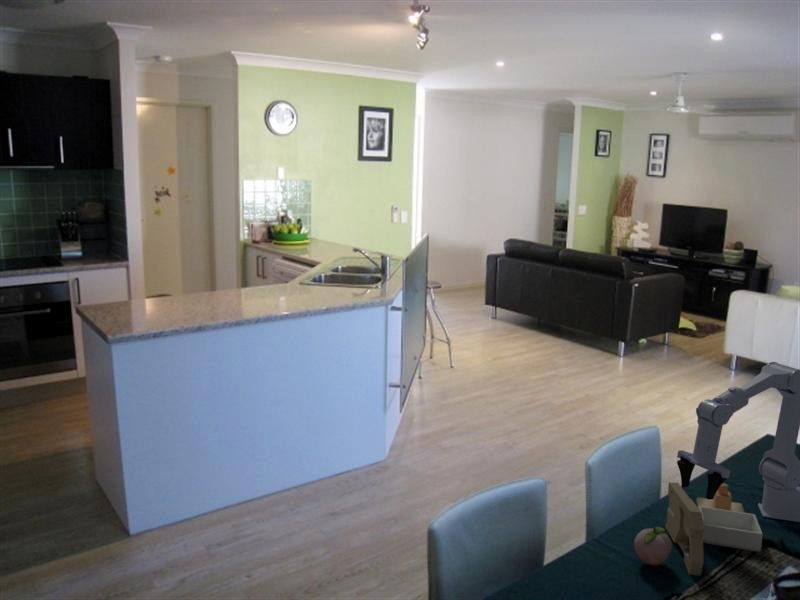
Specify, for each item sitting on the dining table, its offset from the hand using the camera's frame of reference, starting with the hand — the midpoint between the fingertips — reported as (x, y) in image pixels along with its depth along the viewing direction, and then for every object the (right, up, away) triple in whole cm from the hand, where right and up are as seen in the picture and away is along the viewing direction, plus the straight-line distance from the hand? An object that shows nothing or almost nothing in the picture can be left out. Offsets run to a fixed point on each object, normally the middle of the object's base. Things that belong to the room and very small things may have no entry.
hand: (696, 492), depth 178 cm
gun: (-8, -13, -8) cm, 17 cm away
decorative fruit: (-18, -14, -15) cm, 28 cm away
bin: (+7, -11, -2) cm, 14 cm away
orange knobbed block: (+12, -8, +10) cm, 17 cm away
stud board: (+12, -9, +10) cm, 18 cm away
